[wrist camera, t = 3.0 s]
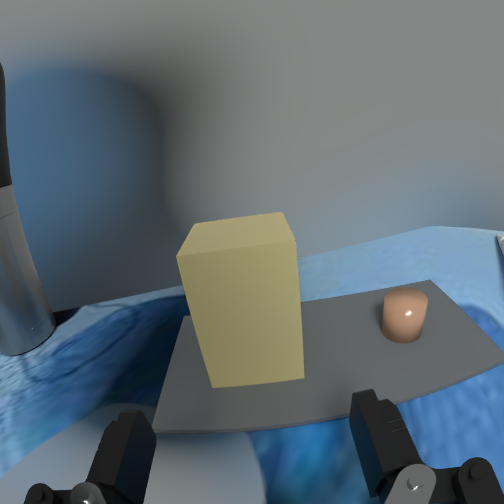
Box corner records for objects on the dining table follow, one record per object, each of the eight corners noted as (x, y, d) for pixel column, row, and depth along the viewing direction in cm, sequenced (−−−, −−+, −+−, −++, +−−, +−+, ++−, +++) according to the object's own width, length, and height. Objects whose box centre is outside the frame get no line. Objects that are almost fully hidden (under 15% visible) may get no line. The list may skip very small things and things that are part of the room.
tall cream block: (212, 387, 20) (176, 256, 16) (218, 335, 26) (194, 223, 22) (304, 378, 19) (295, 240, 16) (292, 326, 25) (282, 211, 22)
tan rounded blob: (390, 347, 21) (395, 315, 19) (375, 322, 24) (377, 291, 23) (429, 337, 20) (435, 305, 19) (411, 314, 24) (415, 284, 23)
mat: (153, 432, 16) (151, 429, 16) (185, 319, 29) (184, 315, 29) (506, 361, 16) (508, 357, 15) (429, 282, 29) (430, 279, 29)
